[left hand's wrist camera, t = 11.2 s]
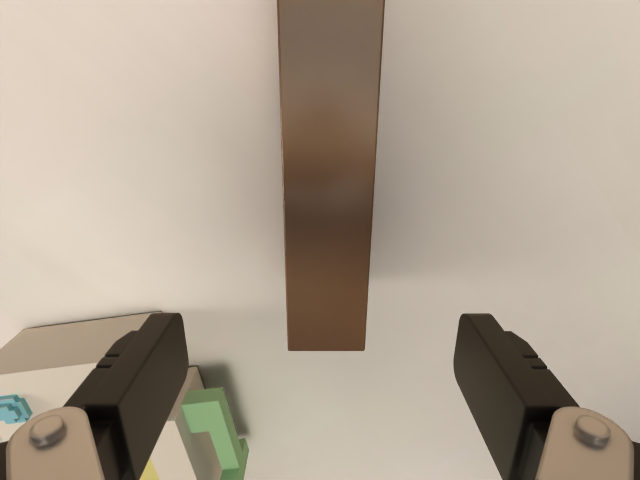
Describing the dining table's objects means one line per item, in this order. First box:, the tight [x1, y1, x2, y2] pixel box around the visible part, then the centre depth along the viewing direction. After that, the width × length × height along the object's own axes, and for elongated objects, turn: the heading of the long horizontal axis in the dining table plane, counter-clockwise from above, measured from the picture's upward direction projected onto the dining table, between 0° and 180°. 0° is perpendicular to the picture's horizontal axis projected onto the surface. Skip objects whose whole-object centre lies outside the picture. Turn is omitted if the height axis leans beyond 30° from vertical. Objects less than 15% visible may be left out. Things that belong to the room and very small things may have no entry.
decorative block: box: [0, 311, 249, 480], centre depth 33 cm, size 26×6×20 cm
